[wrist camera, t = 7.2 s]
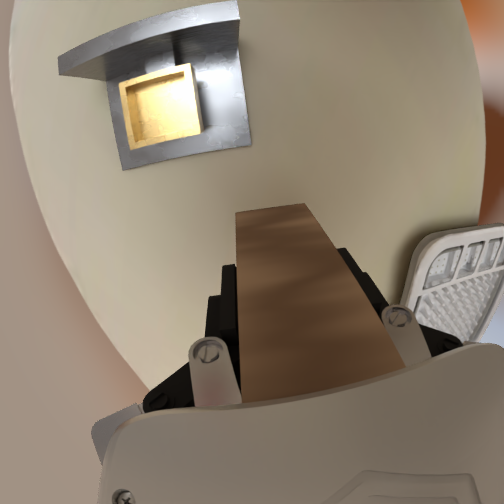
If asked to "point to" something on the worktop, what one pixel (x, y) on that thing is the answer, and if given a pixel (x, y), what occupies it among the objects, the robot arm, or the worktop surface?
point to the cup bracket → (170, 82)
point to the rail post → (301, 310)
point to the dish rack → (457, 280)
